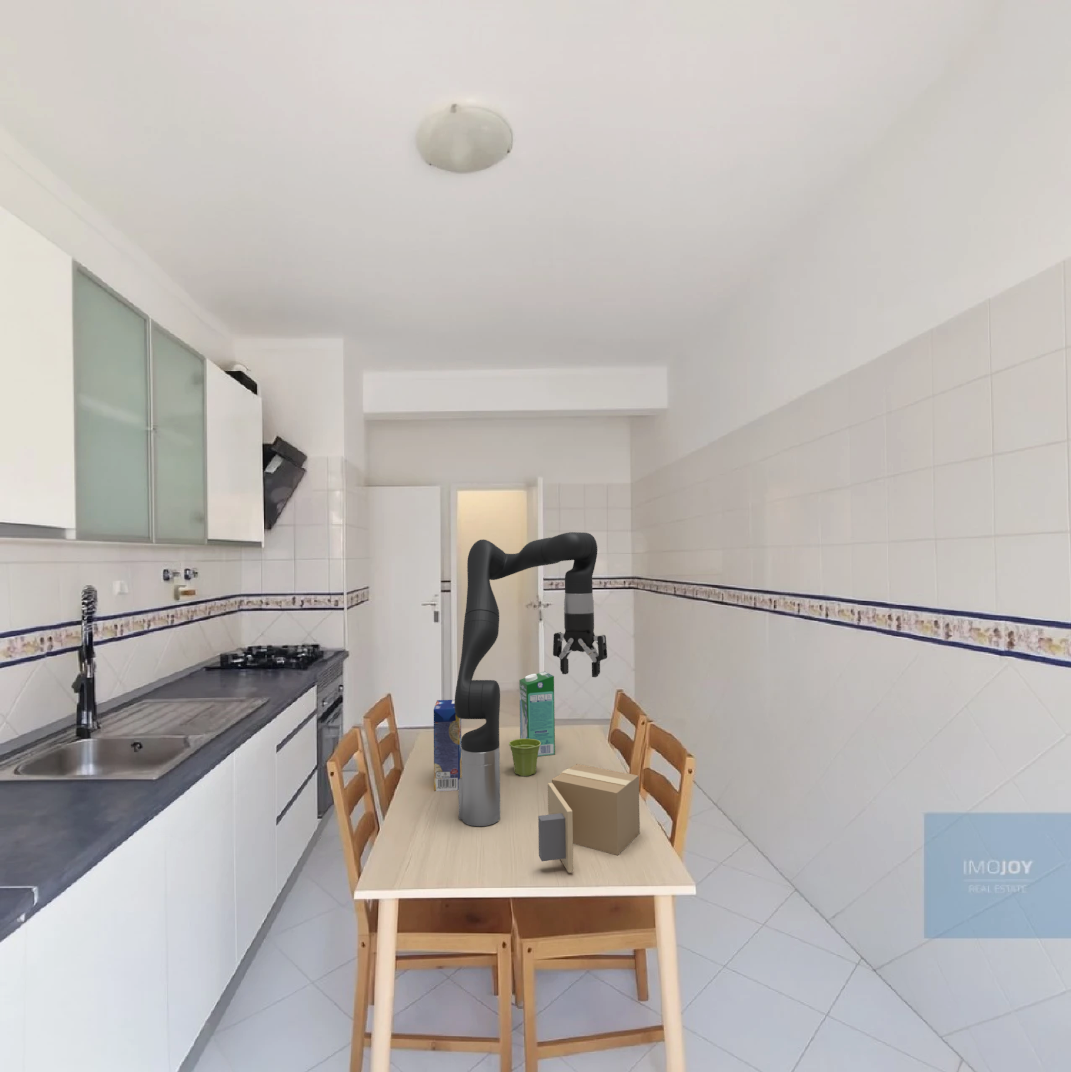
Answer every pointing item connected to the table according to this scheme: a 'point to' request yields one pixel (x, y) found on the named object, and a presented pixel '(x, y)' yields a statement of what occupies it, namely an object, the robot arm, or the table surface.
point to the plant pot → (525, 755)
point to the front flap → (556, 830)
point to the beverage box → (446, 746)
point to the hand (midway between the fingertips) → (579, 675)
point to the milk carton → (538, 711)
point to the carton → (601, 806)
